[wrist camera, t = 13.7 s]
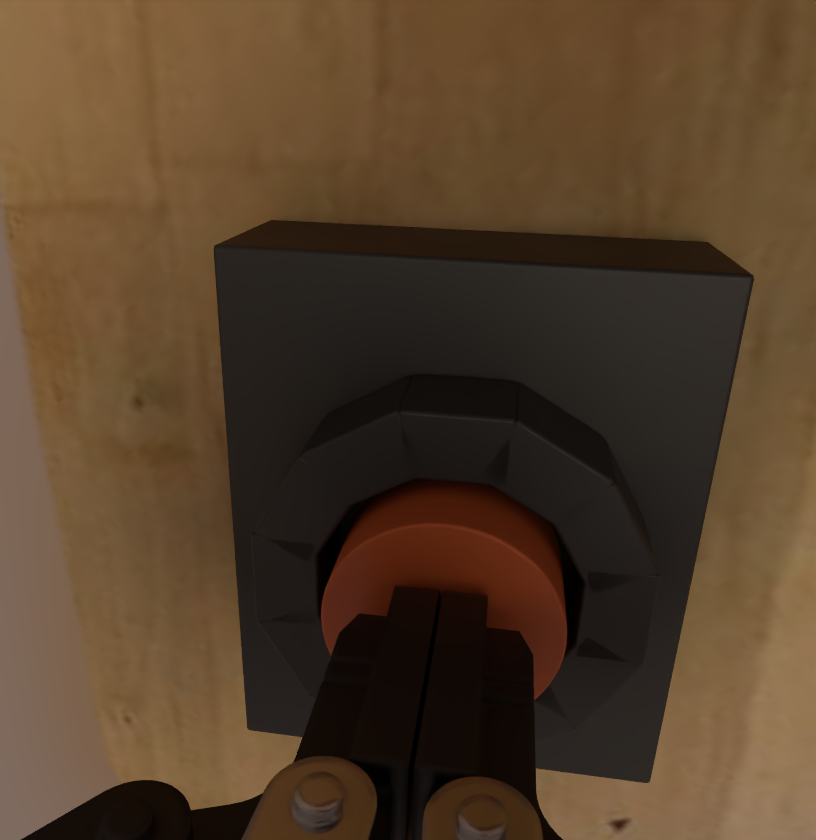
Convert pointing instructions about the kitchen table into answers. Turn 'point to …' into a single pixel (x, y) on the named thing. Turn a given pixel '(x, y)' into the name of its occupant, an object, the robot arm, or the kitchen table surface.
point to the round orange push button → (454, 562)
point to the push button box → (480, 438)
